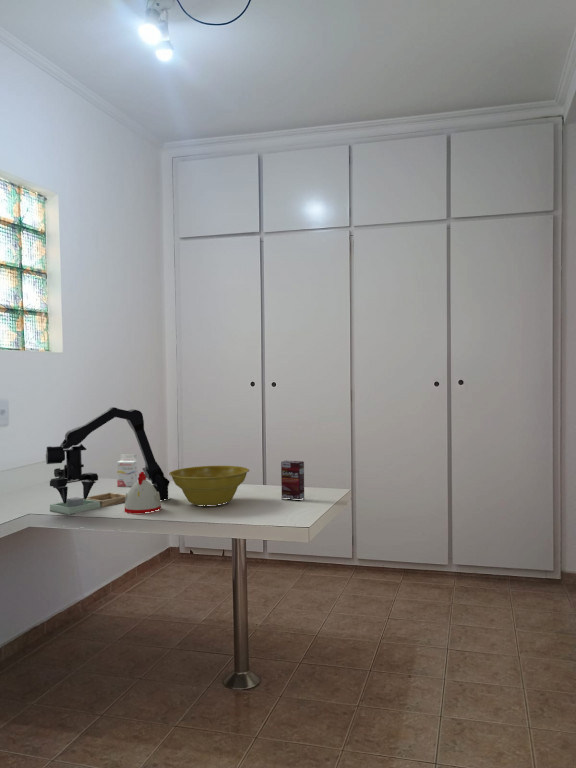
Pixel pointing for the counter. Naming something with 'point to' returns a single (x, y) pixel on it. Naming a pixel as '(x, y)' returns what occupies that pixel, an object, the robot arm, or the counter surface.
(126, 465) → the ink cartridge box
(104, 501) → the oak tray
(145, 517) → the counter surface
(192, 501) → the planter bowl
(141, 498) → the kitchen timer
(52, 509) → the green bin
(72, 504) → the grey cube
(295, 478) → the supplement box
